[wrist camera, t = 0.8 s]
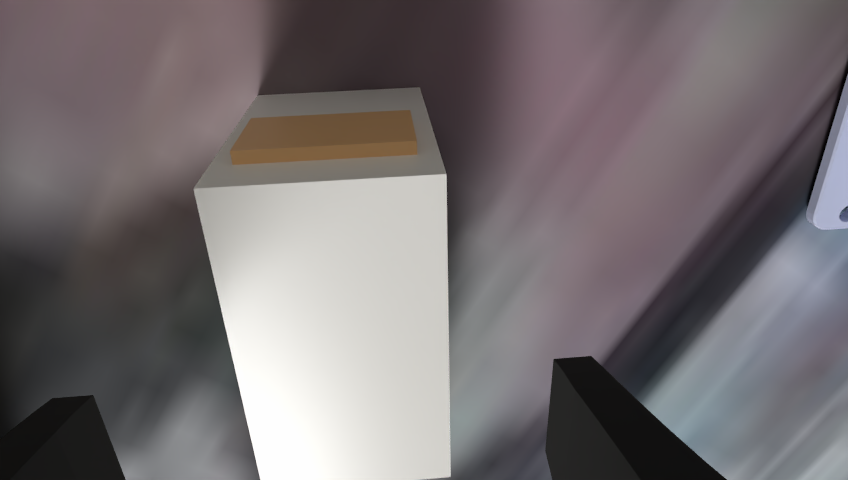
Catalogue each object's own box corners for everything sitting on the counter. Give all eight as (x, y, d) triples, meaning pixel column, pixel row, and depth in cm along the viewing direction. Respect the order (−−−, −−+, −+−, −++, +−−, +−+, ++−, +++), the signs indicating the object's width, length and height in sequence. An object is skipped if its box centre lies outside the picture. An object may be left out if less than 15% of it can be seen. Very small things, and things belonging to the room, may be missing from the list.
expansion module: (419, 76, 15) (446, 159, 9) (427, 316, 18) (450, 477, 13) (256, 84, 14) (190, 173, 9) (295, 326, 18) (263, 493, 13)
